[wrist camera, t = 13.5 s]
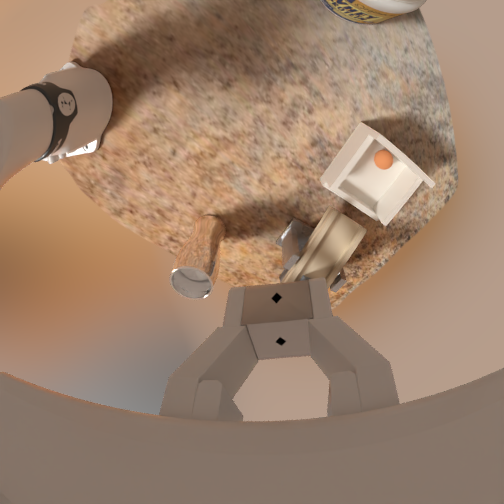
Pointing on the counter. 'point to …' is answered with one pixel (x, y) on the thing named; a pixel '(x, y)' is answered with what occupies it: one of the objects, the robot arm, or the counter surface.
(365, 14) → the supplement tub
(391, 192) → the cream open-top tray
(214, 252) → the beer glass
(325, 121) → the counter surface
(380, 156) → the ball
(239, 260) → the counter surface
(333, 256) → the lever
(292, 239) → the fulcrum
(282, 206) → the counter surface
